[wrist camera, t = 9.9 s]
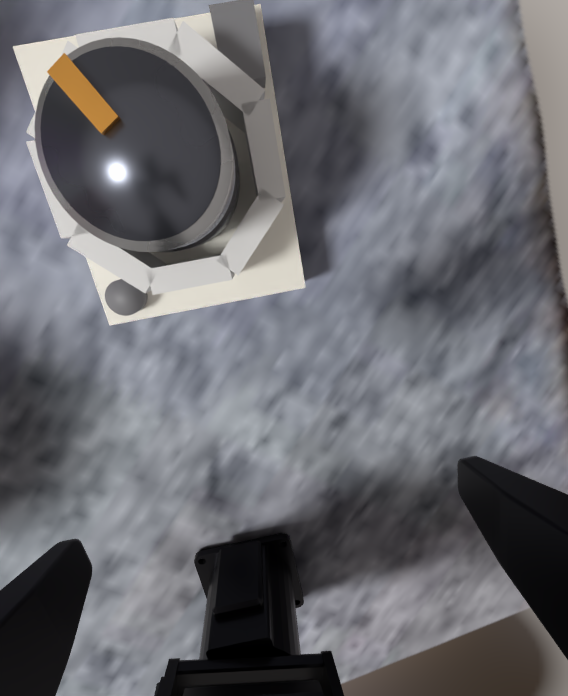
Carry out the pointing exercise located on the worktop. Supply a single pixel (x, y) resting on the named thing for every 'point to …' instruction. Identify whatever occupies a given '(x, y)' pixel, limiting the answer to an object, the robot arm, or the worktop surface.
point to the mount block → (254, 165)
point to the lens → (136, 147)
